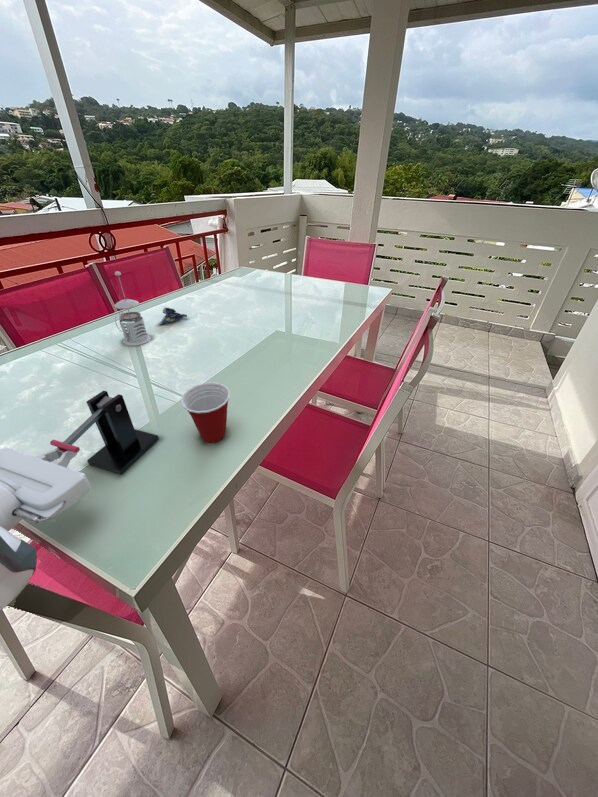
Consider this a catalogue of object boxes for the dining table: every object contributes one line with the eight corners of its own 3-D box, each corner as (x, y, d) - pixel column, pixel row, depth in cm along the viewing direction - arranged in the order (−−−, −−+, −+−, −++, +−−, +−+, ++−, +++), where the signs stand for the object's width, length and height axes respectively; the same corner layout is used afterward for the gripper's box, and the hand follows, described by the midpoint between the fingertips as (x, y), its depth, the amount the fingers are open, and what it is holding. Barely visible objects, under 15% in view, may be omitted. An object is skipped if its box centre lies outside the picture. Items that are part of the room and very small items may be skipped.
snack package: (154, 318, 143) (159, 327, 134) (153, 304, 140) (158, 311, 131) (183, 318, 149) (189, 327, 140) (183, 304, 146) (189, 312, 137)
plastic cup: (180, 441, 78) (169, 400, 72) (210, 417, 86) (203, 377, 80) (216, 457, 74) (208, 414, 68) (244, 429, 82) (239, 389, 75)
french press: (156, 336, 128) (139, 268, 113) (137, 349, 118) (115, 277, 104) (134, 333, 130) (114, 266, 115) (113, 345, 120) (89, 275, 106)
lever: (78, 456, 61) (71, 448, 59) (54, 448, 62) (46, 440, 60) (125, 407, 69) (121, 399, 67) (103, 402, 71) (98, 393, 69)
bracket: (121, 474, 70) (97, 420, 61) (88, 464, 72) (61, 410, 64) (159, 439, 79) (143, 387, 71) (128, 430, 81) (109, 379, 73)
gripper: (32, 513, 47) (108, 449, 58) (-62, 475, 52) (24, 424, 63) (50, 538, 51) (119, 474, 61) (-39, 501, 56) (38, 448, 67)
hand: (70, 448), depth 62 cm, fingers closed, pressing on lever
